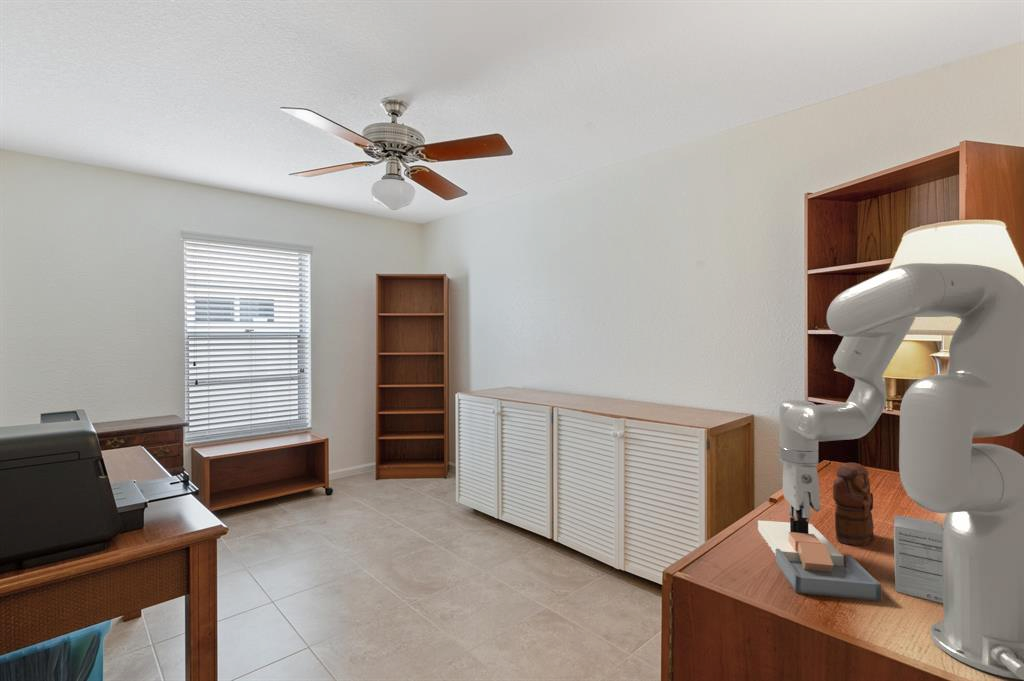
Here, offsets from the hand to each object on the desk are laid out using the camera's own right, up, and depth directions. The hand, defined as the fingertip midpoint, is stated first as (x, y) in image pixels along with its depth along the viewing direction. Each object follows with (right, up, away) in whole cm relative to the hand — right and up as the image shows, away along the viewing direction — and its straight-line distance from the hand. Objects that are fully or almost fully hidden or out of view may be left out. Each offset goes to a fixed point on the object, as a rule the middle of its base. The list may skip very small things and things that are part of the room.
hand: (799, 536), depth 109 cm
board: (0, -3, +2) cm, 4 cm away
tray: (-3, -3, -14) cm, 14 cm away
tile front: (-2, -1, -9) cm, 9 cm away
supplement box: (+12, -3, -18) cm, 22 cm away
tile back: (-1, -1, -4) cm, 4 cm away
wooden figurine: (+17, -3, +6) cm, 18 cm away
